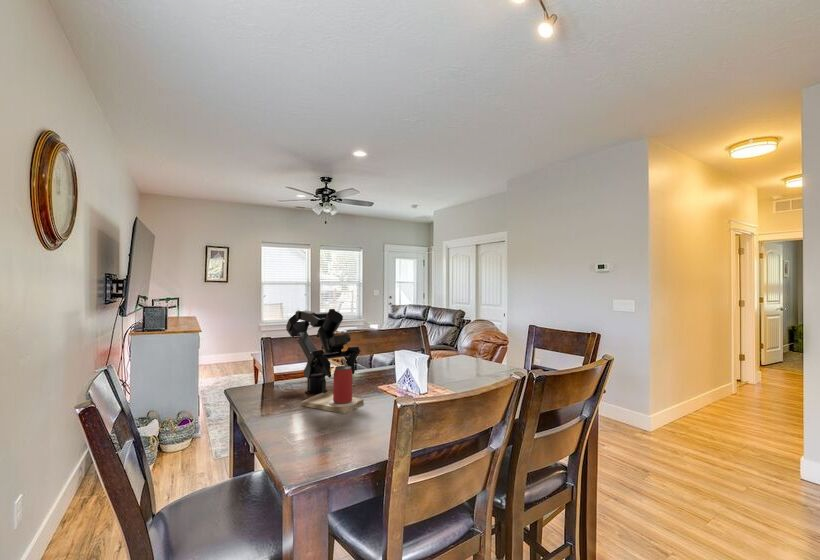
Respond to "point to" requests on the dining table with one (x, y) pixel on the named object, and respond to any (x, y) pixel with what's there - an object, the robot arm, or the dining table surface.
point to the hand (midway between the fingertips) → (342, 375)
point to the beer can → (342, 385)
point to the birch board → (331, 403)
